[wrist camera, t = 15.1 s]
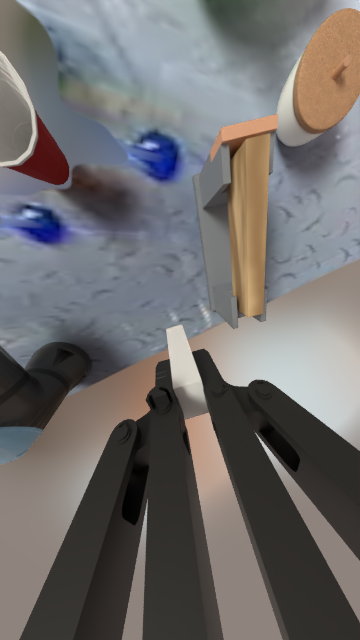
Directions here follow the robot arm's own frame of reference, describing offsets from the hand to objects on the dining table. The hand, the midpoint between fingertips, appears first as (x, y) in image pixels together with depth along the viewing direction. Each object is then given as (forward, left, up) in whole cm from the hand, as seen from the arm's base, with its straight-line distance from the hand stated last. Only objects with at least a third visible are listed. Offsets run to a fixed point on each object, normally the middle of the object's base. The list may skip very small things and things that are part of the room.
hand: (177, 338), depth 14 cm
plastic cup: (-15, +27, -27) cm, 41 cm away
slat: (+15, +5, -18) cm, 24 cm away
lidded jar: (+31, +25, -27) cm, 48 cm away
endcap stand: (+15, +6, -27) cm, 31 cm away
